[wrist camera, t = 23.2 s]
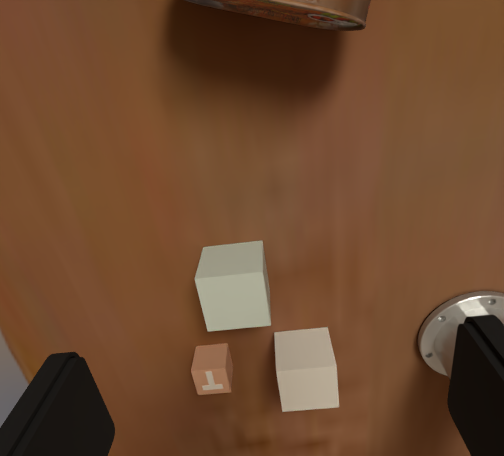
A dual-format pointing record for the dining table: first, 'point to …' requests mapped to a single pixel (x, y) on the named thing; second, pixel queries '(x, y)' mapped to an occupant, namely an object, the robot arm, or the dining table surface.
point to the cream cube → (306, 369)
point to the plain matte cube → (234, 286)
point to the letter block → (212, 369)
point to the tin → (301, 11)
